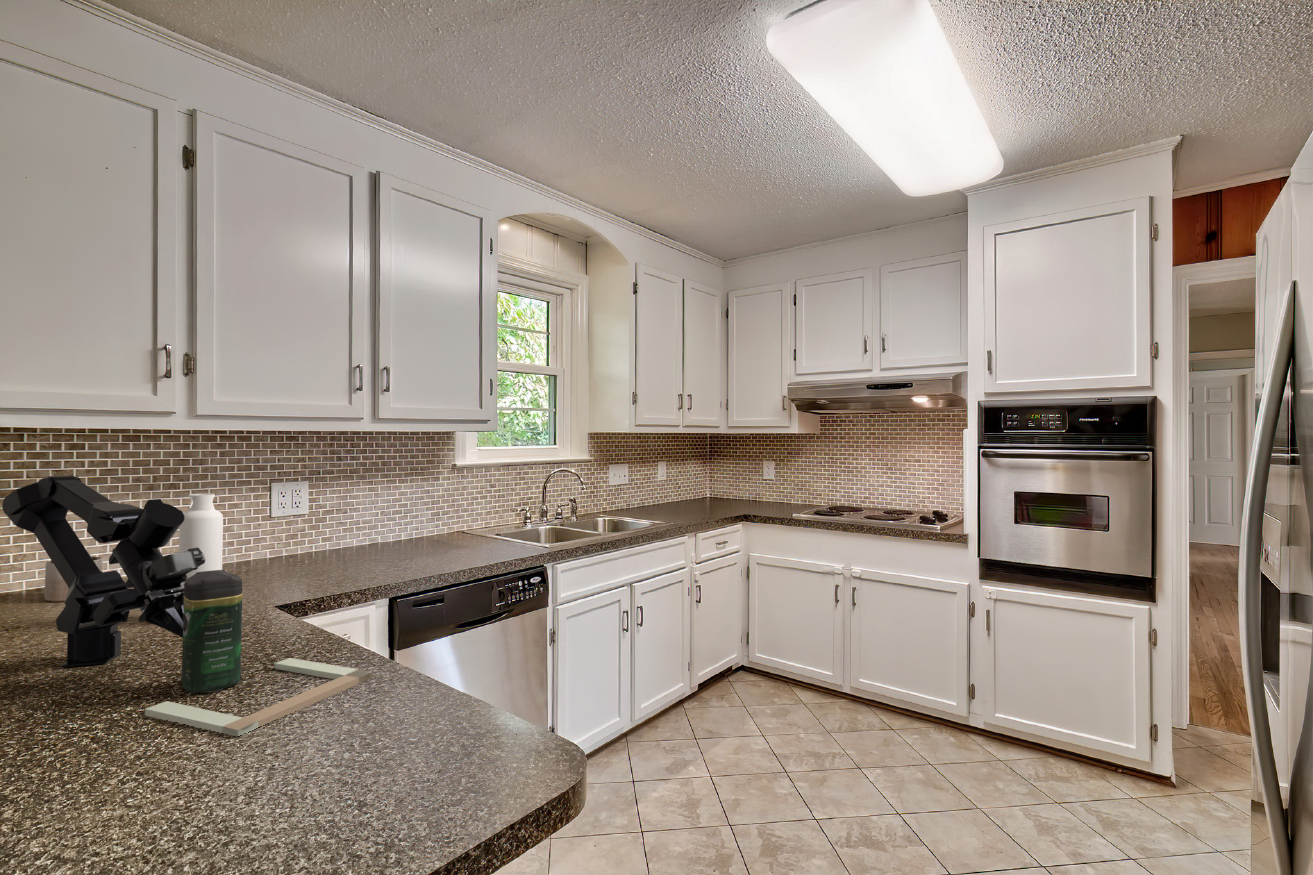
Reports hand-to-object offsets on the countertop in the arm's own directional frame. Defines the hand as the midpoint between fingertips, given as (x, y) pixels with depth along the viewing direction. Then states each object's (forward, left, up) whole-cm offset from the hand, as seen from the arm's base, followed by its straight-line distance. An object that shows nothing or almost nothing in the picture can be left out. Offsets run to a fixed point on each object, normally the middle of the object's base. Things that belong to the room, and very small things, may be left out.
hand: (187, 635), depth 108 cm
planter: (-46, +75, -8) cm, 88 cm away
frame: (+14, -12, -7) cm, 20 cm away
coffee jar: (+5, -4, -7) cm, 10 cm away
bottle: (-10, +43, -7) cm, 45 cm away
